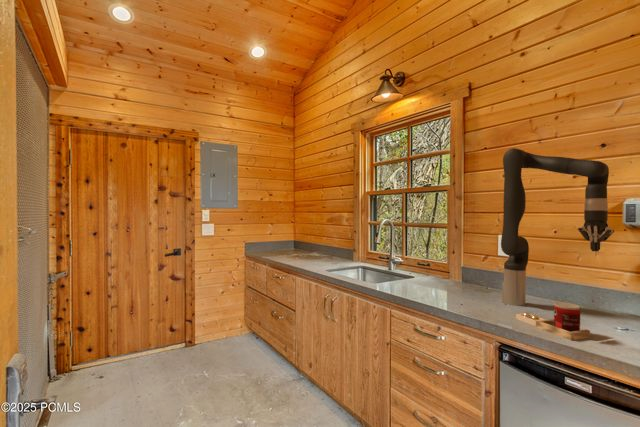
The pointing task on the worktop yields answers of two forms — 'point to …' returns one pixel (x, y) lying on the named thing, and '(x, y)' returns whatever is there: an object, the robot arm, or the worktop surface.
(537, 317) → the brass ball
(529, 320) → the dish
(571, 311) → the canned food
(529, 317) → the steel ball
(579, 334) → the birch holder
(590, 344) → the worktop surface
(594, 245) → the robot arm
